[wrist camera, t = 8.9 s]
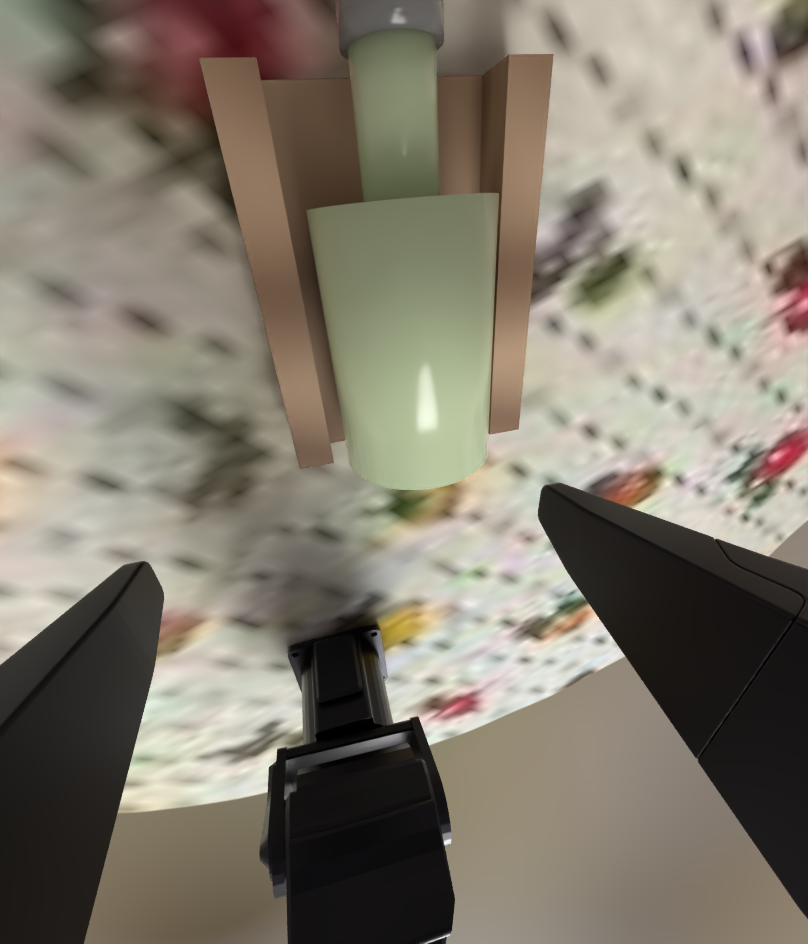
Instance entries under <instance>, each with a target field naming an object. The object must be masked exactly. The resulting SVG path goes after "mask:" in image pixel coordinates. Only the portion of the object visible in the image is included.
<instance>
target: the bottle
mask: <svg viewBox="0 0 808 944" xmlns="http://www.w3.org/2000/svg"><path fill="white" fill-rule="evenodd" d="M335 11H336V20H337V29H338V38H339V47H340V52H341V54H342V56H344V57H345V58H346V59H348V61H349V70H350V80H351V89H352V98H353V108H354V117H355V127H356V136H357V145H358V155H359V164H360V174H361V183H362V193H363V202H362V203H352V204H344V205H336V206H328V207H321V208H315V209H310V210H307V211H306V213H307V219H308V224H309V230H310V236H311V242H312V248H313V253H314V259H315V265H316V271H317V277H318V283H319V288H320V294H321V300H322V306H323V312H324V318H325V323H326V329H327V335H328V341H329V347H330V352H331V358H332V364H333V370H334V376H335V382H336V387H337V393H338V399H339V405H340V411H341V417H342V422H343V428H344V434H345V440H346V446H347V451H348V457H349V463H350V466H351V468H352V469H353V471H354V472H355V473H356V474H357V475H358V476H360V477H361V478H362V479H364V480H366V481H368V482H370V483H373V484H375V485H378V486H382V487H386V488H392V489H400V490H423V489H432V488H438V487H442V486H446V485H450V484H453V483H456V482H458V481H461V480H463V479H465V478H467V477H469V476H470V475H472V474H473V473H475V472H476V471H477V470H478V469H479V468H480V467H481V466H482V465H483V464H484V462H485V460H486V458H487V452H488V430H489V407H490V384H491V362H492V339H493V316H494V294H495V271H496V248H497V226H498V203H499V193H471V194H454V195H440V190H439V143H438V96H437V50H438V49H439V48H440V47H441V46H442V44H443V42H444V16H443V0H336V2H335Z"/></svg>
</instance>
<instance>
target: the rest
mask: <svg viewBox="0 0 808 944" xmlns="http://www.w3.org/2000/svg"><path fill="white" fill-rule="evenodd" d="M199 60H200V65H201V69H202V73H203V77H204V81H205V85H206V89H207V93H208V97H209V101H210V105H211V109H212V113H213V117H214V121H215V126H216V130H217V134H218V138H219V142H220V146H221V150H222V154H223V158H224V162H225V166H226V170H227V174H228V178H229V182H230V186H231V191H232V195H233V199H234V203H235V207H236V211H237V215H238V219H239V223H240V227H241V231H242V235H243V239H244V243H245V247H246V251H247V256H248V260H249V264H250V268H251V272H252V276H253V280H254V284H255V288H256V292H257V296H258V300H259V304H260V308H261V312H262V316H263V321H264V325H265V329H266V333H267V337H268V341H269V345H270V349H271V353H272V357H273V361H274V365H275V369H276V373H277V377H278V381H279V386H280V390H281V394H282V398H283V402H284V406H285V410H286V414H287V418H288V422H289V426H290V430H291V434H292V438H293V442H294V446H295V451H296V455H297V459H298V463H299V467H300V469H302V468H308V467H313V466H319V465H324V464H330V463H334V461H333V456H332V450H331V445H330V443H333V442H339V441H344V440H345V434H344V428H343V422H342V417H341V411H340V405H339V399H338V393H337V387H336V382H335V376H334V370H333V364H332V358H331V352H330V347H329V341H328V335H327V329H326V323H325V318H324V312H323V306H322V300H321V294H320V288H319V283H318V277H317V271H316V265H315V259H314V253H313V248H312V242H311V236H310V230H309V224H308V219H307V213H306V211H307V210H310V209H315V208H321V207H328V206H336V205H344V204H352V203H362V202H363V193H362V183H361V174H360V164H359V155H358V145H357V136H356V127H355V117H354V108H353V98H352V89H351V80H350V78H343V79H292V80H261V78H260V73H259V68H258V62H257V57H228V58H199ZM552 65H553V54H523V55H508V56H507V57H506V58H504V59H503V60H502V61H501V62H499V63H498V64H497V65H496V66H494V67H493V68H492V69H491V70H489V71H488V72H487V73H486V74H484V75H483V76H445V77H437V96H438V143H439V190H440V195H454V194H471V193H499V203H498V226H497V248H496V271H495V294H494V316H493V339H492V362H491V384H490V407H489V430H488V433H489V434H495V433H500V432H506V431H511V430H517V429H519V418H520V407H521V397H522V386H523V375H524V365H525V354H526V343H527V333H528V322H529V311H530V300H531V290H532V279H533V268H534V258H535V247H536V236H537V225H538V215H539V204H540V193H541V183H542V172H543V161H544V150H545V140H546V129H547V118H548V108H549V97H550V86H551V76H552Z"/></svg>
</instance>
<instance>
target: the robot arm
mask: <svg viewBox="0 0 808 944" xmlns="http://www.w3.org/2000/svg"><path fill="white" fill-rule="evenodd" d="M538 518H539V521H540V523H541V525H542V527H543V529H544V530H545V532H546V534H547V536H548V538H549V540H550V541H551V543H552V545H553V547H554V549H555V551H556V552H557V554H558V556H559V558H560V560H561V562H562V563H563V565H564V567H565V569H566V570H567V572H568V573H569V575H570V577H571V578H572V580H573V581H574V582H575V584H576V585H577V587H578V588H579V590H580V591H581V593H582V594H583V596H584V597H585V598H586V600H587V601H588V603H589V604H590V606H591V607H592V609H593V610H594V611H595V613H596V614H597V616H598V617H599V619H600V620H601V622H602V623H603V624H604V626H605V627H606V629H607V630H608V632H609V633H610V635H611V636H612V638H613V639H614V640H615V642H616V643H617V645H618V646H619V648H620V649H621V651H622V652H623V653H624V655H625V656H626V658H627V659H628V661H629V662H630V664H631V665H632V666H633V668H634V669H635V671H636V672H637V674H638V675H639V677H640V678H641V680H642V681H643V682H644V684H645V685H646V687H647V688H648V690H649V691H650V693H651V694H652V695H653V697H654V698H655V700H656V701H657V703H658V704H659V705H660V707H661V709H662V710H663V711H664V713H665V714H666V716H667V717H668V719H669V720H670V722H671V723H672V724H673V726H674V727H675V729H676V730H677V732H678V733H679V735H680V736H681V738H682V739H683V740H684V742H685V743H686V745H687V746H688V748H689V749H690V750H691V752H692V753H693V755H694V756H695V758H697V759H698V762H699V764H700V765H701V767H702V768H703V770H704V771H705V773H706V774H707V776H708V777H709V779H710V780H711V781H712V783H713V784H714V786H715V787H716V789H717V790H718V792H719V793H720V794H721V796H722V797H723V799H724V800H725V802H726V803H727V804H728V806H729V807H730V809H731V810H732V812H733V813H734V815H735V816H736V818H737V819H738V820H739V822H740V823H741V825H742V826H743V828H744V829H745V831H746V832H747V834H748V835H749V836H750V838H751V839H752V841H753V842H754V844H755V845H756V846H757V848H758V849H759V851H760V852H761V854H762V855H763V857H764V858H765V860H766V861H767V862H768V864H769V865H770V867H771V868H772V870H773V871H774V873H775V874H776V876H777V877H778V878H779V880H780V881H781V883H782V884H783V886H784V887H785V889H786V890H787V891H788V893H789V894H790V896H791V897H792V899H793V900H794V902H795V903H796V904H797V906H798V907H799V908H800V910H801V911H802V912H803V914H804V915H805V916H806V917H807V918H808V569H806V568H803V567H800V566H796V565H793V564H790V563H787V562H783V561H781V560H777V559H774V558H771V557H768V556H765V555H762V554H759V553H756V552H753V551H750V550H748V549H745V548H742V547H739V546H736V545H733V544H730V543H728V542H725V541H722V540H719V539H714V538H713V537H711V536H708V535H705V534H702V533H699V532H697V531H694V530H691V529H688V528H685V527H683V526H680V525H677V524H674V523H671V522H669V521H666V520H663V519H660V518H657V517H655V516H652V515H649V514H646V513H643V512H641V511H638V510H635V509H632V508H629V507H627V506H624V505H621V504H618V503H615V502H613V501H610V500H607V499H604V498H601V497H599V496H596V495H593V494H590V493H587V492H585V491H582V490H579V489H576V488H574V487H571V486H568V485H565V484H562V483H553V484H548V485H545V486H543V488H542V490H541V495H540V501H539V508H538ZM163 602H164V593H163V589H162V586H161V585H160V583H159V581H158V579H157V577H156V575H155V573H154V571H153V569H152V567H151V566H150V564H149V563H148V562H145V561H141V562H135V563H130V564H126V565H123V566H122V567H120V568H119V569H118V570H117V571H115V572H114V573H113V574H112V575H110V576H109V577H108V578H107V579H106V580H104V581H103V582H102V583H101V584H99V585H98V586H97V587H96V588H95V589H93V590H92V591H91V592H90V593H88V594H87V595H86V596H85V597H83V598H82V599H81V600H80V601H79V602H77V603H76V604H75V605H74V606H72V607H71V608H70V609H69V610H68V611H66V612H65V613H64V614H63V615H61V616H60V617H59V618H58V619H56V620H55V621H54V622H53V623H52V624H50V625H49V626H48V627H47V628H45V629H44V630H43V631H42V632H40V633H39V634H38V635H37V636H36V637H34V638H33V639H32V640H31V641H29V642H28V643H27V644H26V645H25V646H23V647H22V648H21V649H20V650H18V651H17V652H16V653H15V654H13V655H12V656H11V657H10V658H9V659H7V660H6V661H5V662H4V663H2V664H1V665H0V944H84V941H85V936H86V932H87V929H88V925H89V921H90V917H91V914H92V909H93V906H94V902H95V898H96V894H97V890H98V886H99V883H100V879H101V875H102V871H103V867H104V863H105V859H106V855H107V851H108V848H109V844H110V840H111V836H112V832H113V828H114V824H115V820H116V816H117V813H118V809H119V805H120V801H121V797H122V793H123V789H124V785H125V782H126V778H127V774H128V770H129V766H130V762H131V758H132V754H133V750H134V747H135V743H136V739H137V735H138V731H139V727H140V723H141V719H142V715H143V712H144V708H145V704H146V700H147V696H148V692H149V688H150V684H151V681H152V676H153V672H154V667H155V661H156V655H157V647H158V640H159V632H160V625H161V617H162V610H163ZM288 658H289V660H290V663H291V666H292V668H293V671H294V674H295V676H296V679H297V682H298V684H299V687H300V690H301V692H302V712H303V745H300V746H295V747H291V748H287V747H283V748H279V749H277V760H276V762H275V763H274V764H273V765H271V766H270V767H269V778H268V798H267V807H266V813H265V819H264V825H263V831H262V837H261V843H260V861H261V862H262V863H263V864H264V865H265V866H266V867H267V868H268V869H269V873H270V879H271V881H272V882H273V892H274V897H275V899H276V900H277V899H281V898H284V897H287V927H288V928H287V930H288V944H446V938H447V936H449V935H450V934H451V931H452V924H453V914H454V903H455V897H454V892H453V887H452V881H451V877H450V871H449V866H448V861H447V856H446V851H445V846H448V845H450V843H451V826H450V818H449V812H448V807H447V801H446V797H445V793H444V789H443V785H442V782H441V779H440V776H439V772H438V770H437V767H436V764H435V762H434V759H433V756H432V753H431V750H430V748H429V745H428V742H427V739H426V737H425V734H424V731H423V728H422V726H421V723H420V720H419V717H418V716H417V717H412V718H410V720H407V721H402V722H398V723H394V724H393V720H392V716H391V711H390V706H389V701H388V697H387V692H386V687H385V682H384V681H385V680H386V679H387V678H388V675H387V669H386V663H385V656H384V650H383V644H382V638H381V632H380V628H379V626H377V625H372V626H368V627H364V628H360V629H356V630H352V631H348V632H344V633H340V634H336V635H332V636H328V637H325V638H321V639H317V640H313V641H309V642H305V643H301V644H297V645H293V646H291V647H290V648H289V649H288Z"/></svg>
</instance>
